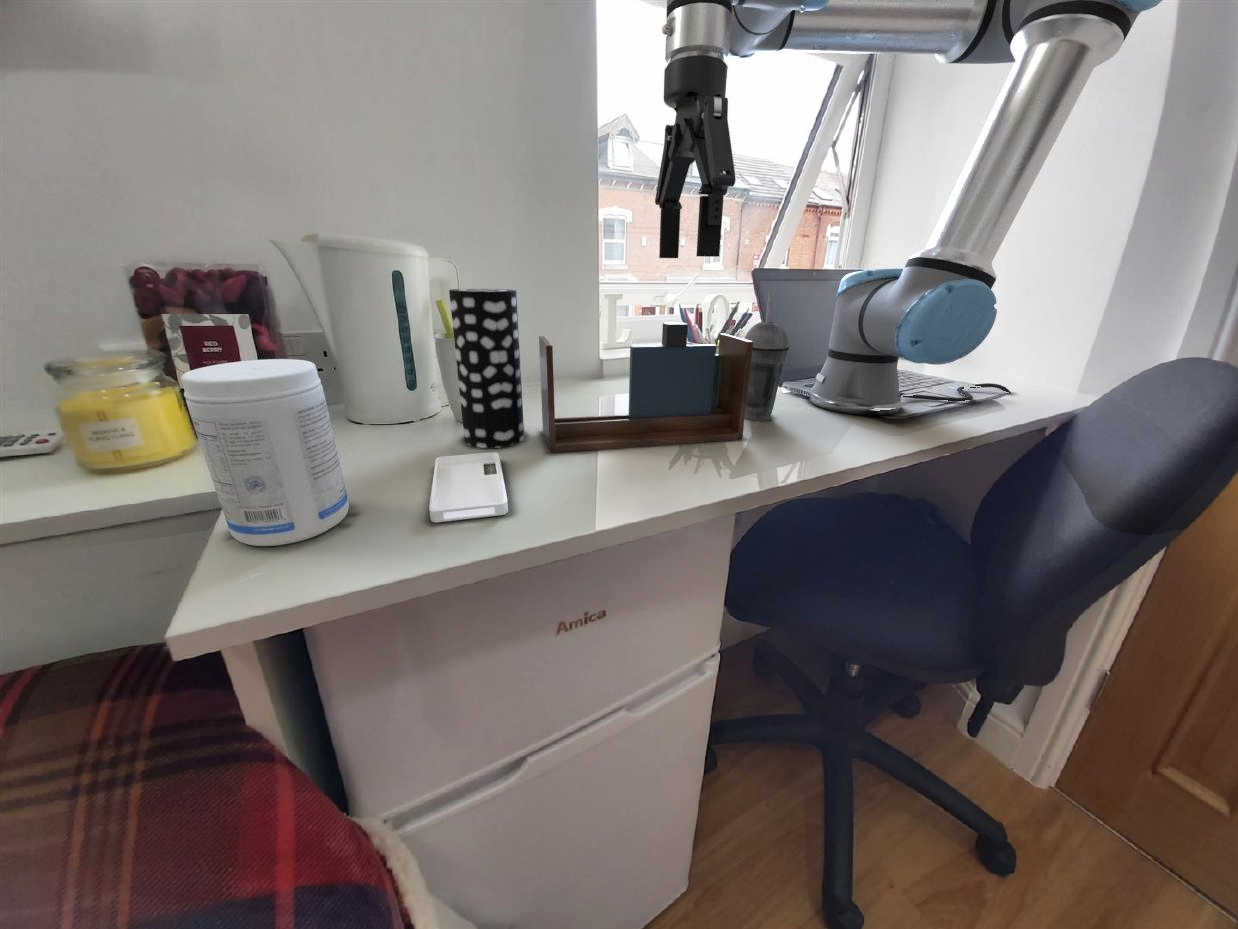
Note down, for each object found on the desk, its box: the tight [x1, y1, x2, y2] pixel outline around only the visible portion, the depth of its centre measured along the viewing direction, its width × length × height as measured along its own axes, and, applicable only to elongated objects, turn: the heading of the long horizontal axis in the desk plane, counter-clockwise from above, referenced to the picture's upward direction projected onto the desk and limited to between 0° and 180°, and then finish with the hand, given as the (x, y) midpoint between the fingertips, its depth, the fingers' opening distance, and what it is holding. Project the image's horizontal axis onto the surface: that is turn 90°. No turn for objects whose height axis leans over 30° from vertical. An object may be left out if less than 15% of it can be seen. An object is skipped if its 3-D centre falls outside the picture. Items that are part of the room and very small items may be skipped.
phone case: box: [428, 452, 509, 523], centre depth 54 cm, size 7×1×15 cm
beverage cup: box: [744, 290, 790, 422], centre depth 80 cm, size 7×7×20 cm
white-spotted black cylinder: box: [448, 288, 525, 449], centre depth 67 cm, size 8×8×20 cm
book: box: [628, 322, 717, 419], centre depth 71 cm, size 12×2×15 cm, turn 104°
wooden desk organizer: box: [538, 333, 753, 454], centre depth 70 cm, size 28×9×14 cm, turn 104°
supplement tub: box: [180, 358, 350, 547], centre depth 44 cm, size 10×10×15 cm
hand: (686, 257), depth 67 cm, fingers open, 13 cm apart
